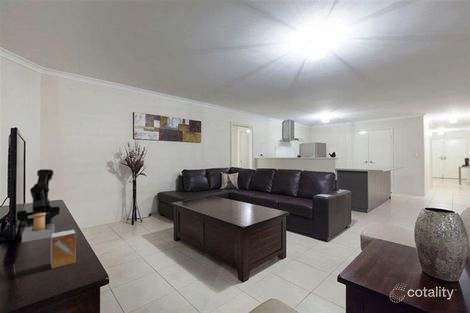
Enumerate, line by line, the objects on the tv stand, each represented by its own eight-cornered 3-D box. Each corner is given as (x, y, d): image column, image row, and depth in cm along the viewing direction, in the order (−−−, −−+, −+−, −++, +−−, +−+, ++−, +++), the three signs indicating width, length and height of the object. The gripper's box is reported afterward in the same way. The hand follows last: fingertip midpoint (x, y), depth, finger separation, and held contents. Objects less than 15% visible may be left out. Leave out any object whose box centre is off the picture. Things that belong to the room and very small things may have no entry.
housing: (21, 242, 117) (21, 234, 117) (25, 235, 127) (25, 227, 127) (53, 236, 125) (53, 229, 125) (54, 230, 135) (54, 223, 135)
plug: (29, 237, 123) (29, 215, 123) (39, 234, 129) (39, 212, 129) (38, 238, 123) (38, 215, 123) (48, 234, 128) (48, 212, 128)
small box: (51, 269, 89) (51, 237, 89) (50, 263, 93) (50, 233, 93) (76, 262, 94) (76, 232, 94) (73, 257, 99) (73, 229, 99)
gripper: (16, 196, 122) (15, 220, 114) (59, 193, 135) (61, 214, 127) (17, 208, 128) (16, 231, 120) (58, 203, 141) (59, 224, 133)
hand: (39, 225), depth 125 cm, fingers open, 9 cm apart
